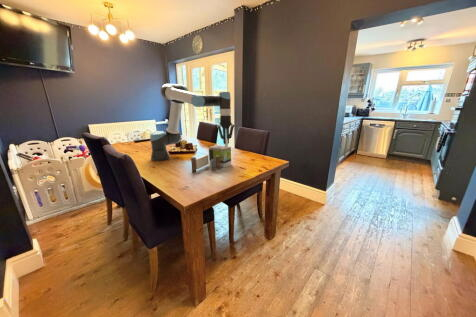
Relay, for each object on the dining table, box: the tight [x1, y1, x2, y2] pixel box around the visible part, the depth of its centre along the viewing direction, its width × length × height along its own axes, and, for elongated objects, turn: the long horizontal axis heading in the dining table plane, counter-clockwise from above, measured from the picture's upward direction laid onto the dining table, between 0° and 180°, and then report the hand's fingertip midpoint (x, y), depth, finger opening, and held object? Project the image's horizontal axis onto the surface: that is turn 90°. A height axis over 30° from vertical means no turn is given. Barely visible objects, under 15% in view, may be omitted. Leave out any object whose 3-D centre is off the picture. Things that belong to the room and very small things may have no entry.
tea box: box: [208, 144, 232, 169], centre depth 151 cm, size 15×10×15 cm
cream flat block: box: [196, 154, 210, 170], centre depth 144 cm, size 14×2×8 cm, turn 151°
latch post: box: [215, 155, 222, 170], centre depth 143 cm, size 3×3×10 cm
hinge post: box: [190, 156, 197, 174], centre depth 136 cm, size 4×4×11 cm
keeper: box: [210, 159, 217, 171], centre depth 140 cm, size 1×3×8 cm, turn 113°
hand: (226, 148), depth 140 cm, fingers closed
